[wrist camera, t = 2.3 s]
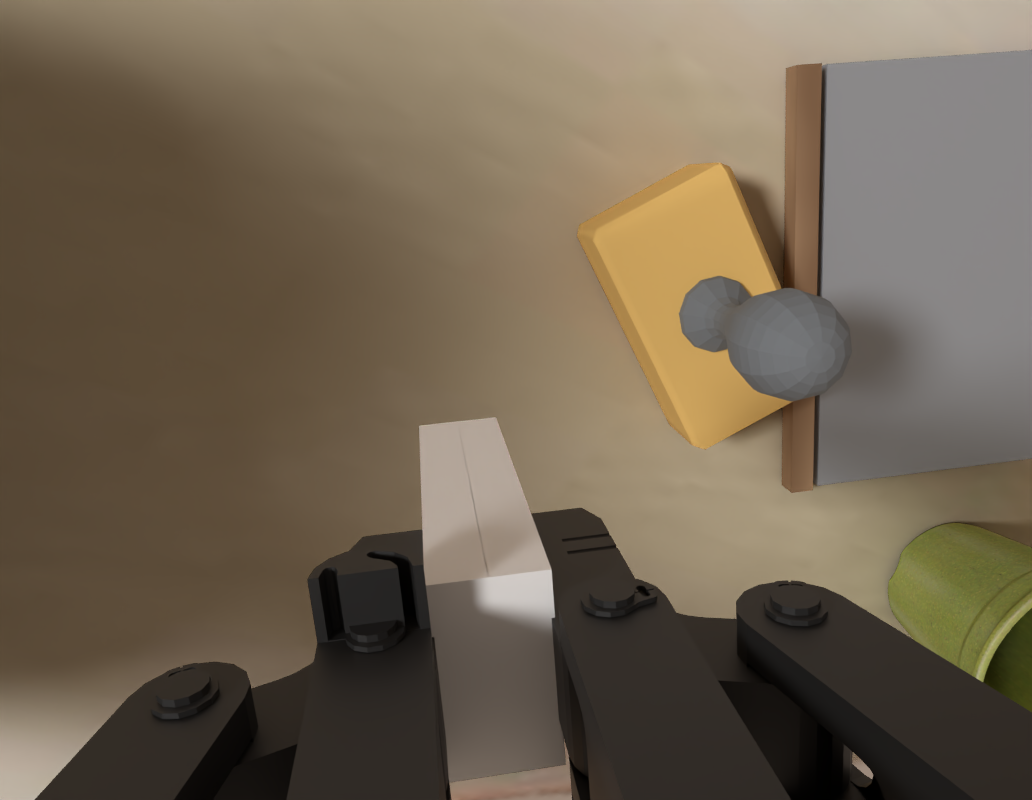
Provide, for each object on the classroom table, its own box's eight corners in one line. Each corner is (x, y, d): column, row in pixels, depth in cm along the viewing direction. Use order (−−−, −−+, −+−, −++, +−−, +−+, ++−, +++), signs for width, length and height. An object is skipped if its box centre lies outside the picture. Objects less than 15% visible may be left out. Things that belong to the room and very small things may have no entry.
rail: (781, 484, 38) (791, 492, 37) (786, 68, 33) (797, 64, 32) (802, 482, 38) (812, 490, 37) (809, 66, 33) (821, 63, 32)
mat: (811, 480, 38) (817, 485, 37) (820, 66, 33) (827, 64, 32) (1029, 453, 39) (1039, 457, 38) (1068, 49, 34) (1080, 46, 34)
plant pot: (996, 452, 39) (1157, 525, 30) (1055, 600, 41) (1219, 705, 33) (825, 552, 39) (940, 652, 31) (896, 693, 42) (1019, 820, 33)
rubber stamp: (784, 366, 36) (960, 451, 25) (670, 428, 36) (793, 542, 25) (695, 160, 33) (848, 148, 22) (571, 228, 33) (659, 252, 22)
